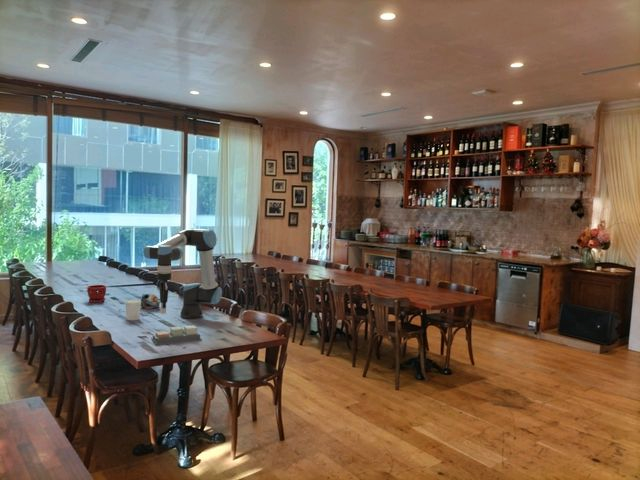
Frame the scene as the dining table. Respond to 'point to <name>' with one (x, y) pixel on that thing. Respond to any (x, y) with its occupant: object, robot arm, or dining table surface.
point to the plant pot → (96, 293)
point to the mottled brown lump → (150, 301)
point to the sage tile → (176, 331)
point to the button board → (175, 339)
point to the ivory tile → (190, 330)
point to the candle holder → (133, 309)
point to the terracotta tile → (162, 334)
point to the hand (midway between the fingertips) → (163, 313)
